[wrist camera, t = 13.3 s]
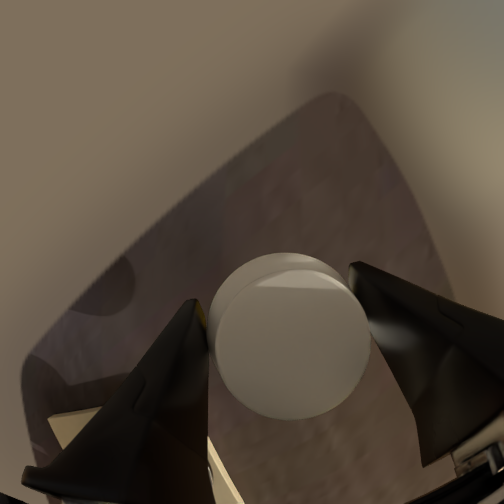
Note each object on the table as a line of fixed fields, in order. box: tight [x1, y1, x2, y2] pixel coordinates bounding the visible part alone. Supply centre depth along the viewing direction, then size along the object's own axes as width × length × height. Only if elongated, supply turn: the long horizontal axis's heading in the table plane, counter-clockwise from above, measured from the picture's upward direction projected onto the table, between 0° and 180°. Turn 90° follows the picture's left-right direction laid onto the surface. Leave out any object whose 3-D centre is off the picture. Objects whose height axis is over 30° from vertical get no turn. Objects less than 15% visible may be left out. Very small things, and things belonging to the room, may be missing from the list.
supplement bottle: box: [206, 253, 371, 420], centre depth 12 cm, size 5×5×10 cm
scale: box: [48, 407, 245, 504], centre depth 17 cm, size 14×14×3 cm
